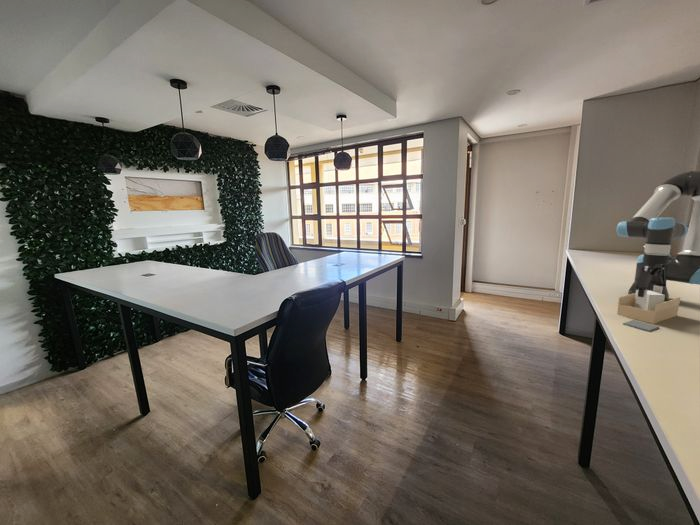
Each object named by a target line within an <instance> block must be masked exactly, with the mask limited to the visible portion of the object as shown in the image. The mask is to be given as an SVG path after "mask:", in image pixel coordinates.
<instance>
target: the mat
mask: <svg viewBox="0 0 700 525" xmlns="http://www.w3.org/2000/svg"><path fill="white" fill-rule="evenodd" d="M622 325H624V326H626V325H627V326H626V327H630V328H633V327H634V329H638V330H641V331H644V332H648V333H649V332H652V331H655V330H657V329H659V328H660V326H659V325H656V324H651V323H647V322H643V321H640V320H636V319H632V320H629V321H626V322H623V323H622Z"/></svg>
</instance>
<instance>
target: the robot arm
mask: <svg viewBox="0 0 700 525" xmlns="http://www.w3.org/2000/svg"><path fill="white" fill-rule="evenodd" d="M684 196H685V197H687V196H691V200H693V201H694V206H693V210H692V213H691V217H690V221H689V224H688V226H687V225H686V224H685V223H684V222H680V221H676V219H675V218H674V217H659V216H660V215H661V214H662V213H663V212H664V211H665V210H666V209H667V207H669V205H670V204H671V203H672V202H673V201H675V200H677V199H679V198H680V197H684ZM615 231H616V234H617V236H618V237H625V238H638V239H645V244H644V245H643V248H644V250H643V252H644V254H640V255H638V257H637V261H636V266H635V274H634V282H632V285H631V286H630V287H629V289H628V292H627V295H630V294H634V293H636V290H638V293H637V299H636V303H637V304H641V305H645V302H646V296H647V290H649V291H653V292H657V293H660V294H663V295H665V299H664V302H666V301H669V300H670V293H669V291H668V288H667V287H668V286H667V281H671V282H678V283H682V284H683V283H684V284H691V285H700V170H690V171H684V172H681V173H678V174H675V175H674V176H672V177H669V178H667V179H666V180H664V181H662V182H661V183H660V184H659V185H658V186H657V187H656V188H655V189H654V192H653V194H652V196H651V197H650V198H649V199H648V200H647V201H646V202H645V203H644V204H643V206H641V207H640V209H639V210H638V211H637V212H636V213H635V215H633V216H632V218H630V220H624V221H623V220H622V221H619V222H618V224H617V226H616V230H615ZM684 237H685V239H684V244H683V247H682V250H681V251H680V252H678V253H676V256H675V257H672V255H671V254H670V252H671V247H672V243H673V242H672V241H673V240H678V239H681V238H684Z"/></svg>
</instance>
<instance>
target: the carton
mask: <svg viewBox="0 0 700 525" xmlns="http://www.w3.org/2000/svg"><path fill="white" fill-rule="evenodd" d="M635 295H636V293H634V294H630V295H628V294H627V295H626V294H625V295H623V296H619V297H618V302H617V303H618V305H617V312H616V314H617V315H618V316H621V315H622V316H623V317H625V316H626V318H629V317H630V318H629V319H632V318H633V319H632V320H636V319H637V320H636V321H639V322H643V321H644V322H643V323H647V324H651V325H655V324H657V323H660V322H664V321H666V320H669V319H672V318H675V317H678V312H679V307H680V306H679V305H680V303H681V297H679V296H678V297H676V298H674V299H669V300H667V301H664V302H663V303H659V304H656V306H655V312H653V311H649V310H644V309H639V308H635V307H634V303H635ZM622 316H621V317H622Z"/></svg>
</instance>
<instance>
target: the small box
mask: <svg viewBox="0 0 700 525" xmlns="http://www.w3.org/2000/svg"><path fill="white" fill-rule="evenodd" d="M637 293H638V290H636V295H635V303H634V307H635V308H639V309H644V310H649V311H653V312H655V306H656V304H659V303H663V302H665V301H664V299H665V295H663V294H660V293H657V292H653V291H649V290H647V296H646V302H645V305H641V304H637V303H636V299H637Z"/></svg>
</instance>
